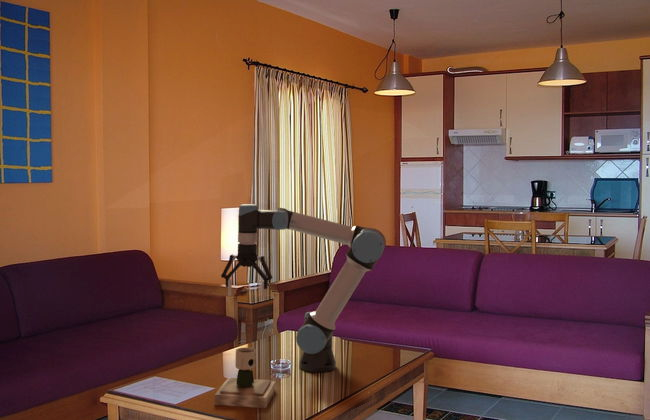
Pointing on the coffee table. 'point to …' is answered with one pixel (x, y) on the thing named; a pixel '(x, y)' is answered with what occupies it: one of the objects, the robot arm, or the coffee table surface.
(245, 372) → the character mug
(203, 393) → the coffee table surface
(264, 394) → the birch plinth
